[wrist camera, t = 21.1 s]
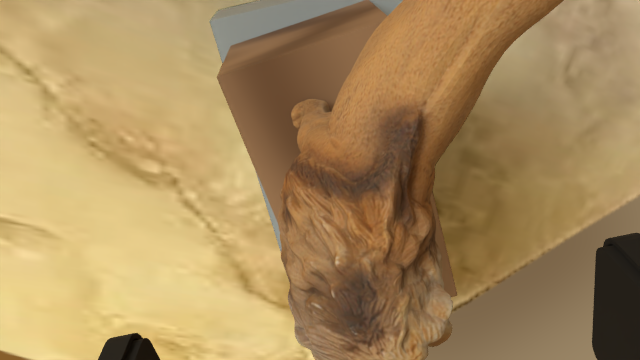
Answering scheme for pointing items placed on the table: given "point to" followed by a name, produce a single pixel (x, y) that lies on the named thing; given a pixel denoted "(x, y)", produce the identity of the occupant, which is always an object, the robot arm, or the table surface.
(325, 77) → the walnut brick
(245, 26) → the base slab
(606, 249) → the robot arm
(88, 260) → the table surface
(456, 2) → the lion figurine
